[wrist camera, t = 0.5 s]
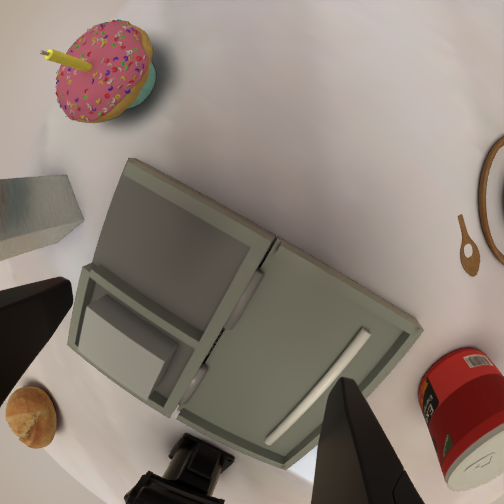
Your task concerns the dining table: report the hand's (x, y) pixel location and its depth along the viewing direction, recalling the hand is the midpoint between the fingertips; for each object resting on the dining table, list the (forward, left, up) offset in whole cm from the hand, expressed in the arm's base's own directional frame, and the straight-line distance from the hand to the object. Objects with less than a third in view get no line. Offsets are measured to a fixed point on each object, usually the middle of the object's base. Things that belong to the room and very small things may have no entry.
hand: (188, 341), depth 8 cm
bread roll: (-42, +18, -15) cm, 48 cm away
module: (-7, +19, -14) cm, 25 cm away
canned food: (-2, -22, -15) cm, 26 cm away
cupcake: (+7, +16, -15) cm, 23 cm away
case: (-9, -1, -14) cm, 17 cm away
